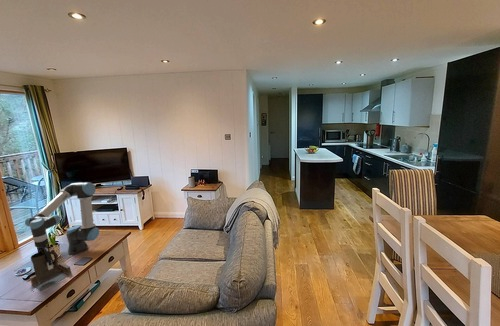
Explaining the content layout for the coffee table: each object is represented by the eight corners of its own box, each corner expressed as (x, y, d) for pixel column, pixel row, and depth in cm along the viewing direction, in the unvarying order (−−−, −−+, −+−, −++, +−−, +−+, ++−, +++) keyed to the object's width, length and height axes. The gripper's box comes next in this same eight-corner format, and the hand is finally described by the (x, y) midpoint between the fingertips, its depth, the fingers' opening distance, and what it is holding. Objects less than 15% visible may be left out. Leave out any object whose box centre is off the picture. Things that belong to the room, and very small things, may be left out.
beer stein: (43, 283, 166) (38, 257, 164) (32, 282, 168) (26, 257, 166) (64, 270, 181) (59, 246, 179) (53, 270, 183) (48, 246, 181)
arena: (62, 268, 191) (61, 262, 190) (71, 273, 184) (69, 266, 183) (31, 284, 174) (29, 277, 172) (40, 290, 167) (38, 283, 166)
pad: (60, 272, 187) (60, 271, 187) (68, 276, 181) (68, 276, 181) (33, 285, 172) (33, 285, 172) (41, 290, 166) (41, 290, 166)
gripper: (27, 239, 171) (34, 266, 176) (41, 245, 161) (48, 274, 166) (40, 234, 178) (46, 260, 182) (54, 240, 168) (60, 268, 172)
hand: (47, 267), depth 174 cm, fingers closed on beer stein, 9 cm apart
